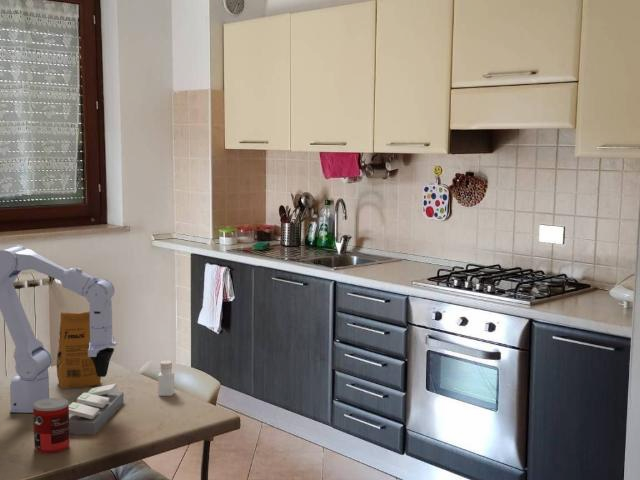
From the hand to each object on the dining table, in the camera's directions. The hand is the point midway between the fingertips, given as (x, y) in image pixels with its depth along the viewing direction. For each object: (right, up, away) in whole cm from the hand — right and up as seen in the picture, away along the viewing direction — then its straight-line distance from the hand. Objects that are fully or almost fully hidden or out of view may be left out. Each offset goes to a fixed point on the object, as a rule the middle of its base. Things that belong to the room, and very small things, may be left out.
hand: (101, 376), depth 212 cm
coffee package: (-13, -7, +24) cm, 28 cm away
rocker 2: (-1, -7, -4) cm, 8 cm away
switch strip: (-1, -10, -2) cm, 10 cm away
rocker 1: (-1, -6, +4) cm, 7 cm away
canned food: (-5, -13, -24) cm, 28 cm away
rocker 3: (-2, -8, -12) cm, 14 cm away
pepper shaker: (+14, -8, +16) cm, 23 cm away
